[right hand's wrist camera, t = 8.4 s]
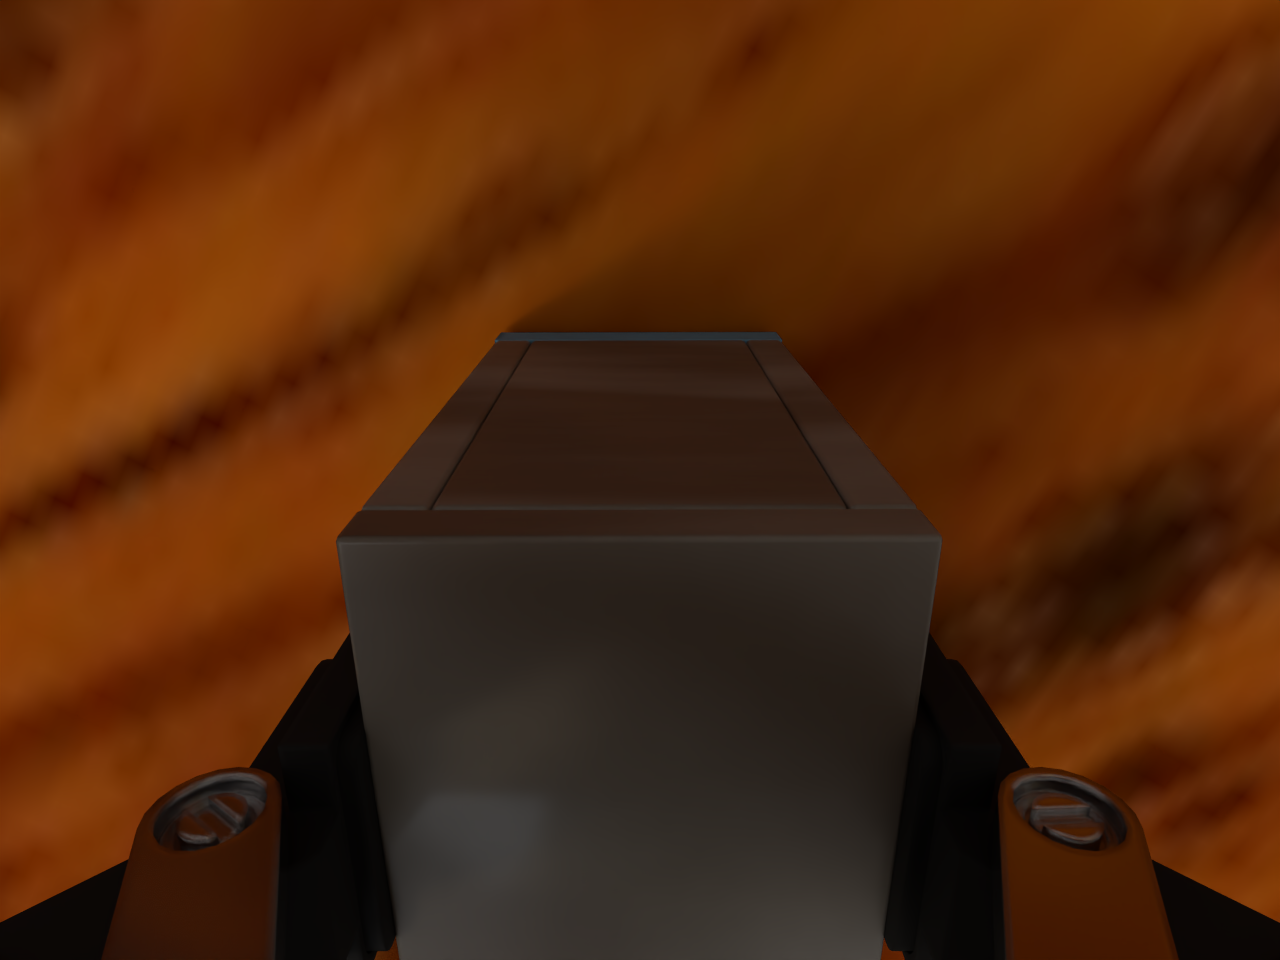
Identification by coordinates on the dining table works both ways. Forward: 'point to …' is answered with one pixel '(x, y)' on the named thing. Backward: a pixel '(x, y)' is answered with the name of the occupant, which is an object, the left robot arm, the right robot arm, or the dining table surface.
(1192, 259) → the dining table surface
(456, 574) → the cabinet
